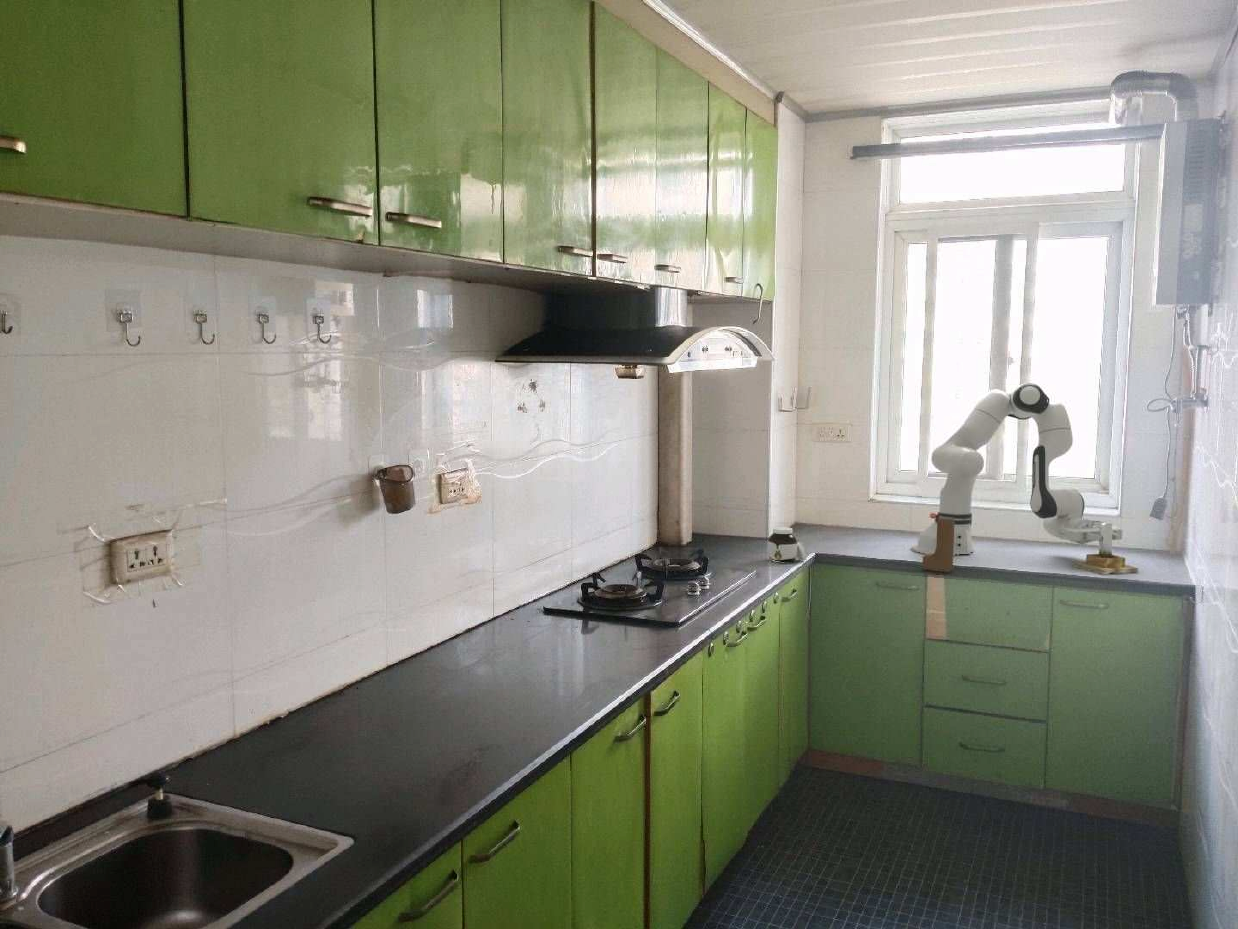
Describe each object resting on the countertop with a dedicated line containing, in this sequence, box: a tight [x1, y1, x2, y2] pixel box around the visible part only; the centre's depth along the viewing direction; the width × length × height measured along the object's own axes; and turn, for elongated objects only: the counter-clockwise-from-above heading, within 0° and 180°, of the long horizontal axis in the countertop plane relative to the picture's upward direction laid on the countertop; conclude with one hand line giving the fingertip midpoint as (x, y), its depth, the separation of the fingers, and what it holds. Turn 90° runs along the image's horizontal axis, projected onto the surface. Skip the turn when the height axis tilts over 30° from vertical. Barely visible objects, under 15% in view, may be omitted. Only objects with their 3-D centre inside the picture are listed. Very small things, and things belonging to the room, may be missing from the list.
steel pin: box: [1098, 522, 1113, 558], centre depth 336 cm, size 4×4×14 cm
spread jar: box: [767, 526, 807, 563], centre depth 349 cm, size 12×11×12 cm
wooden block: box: [921, 517, 955, 573], centre depth 334 cm, size 9×4×18 cm, turn 52°
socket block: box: [1072, 553, 1139, 575], centre depth 337 cm, size 14×14×4 cm
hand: (1108, 537), depth 335 cm, fingers open, 5 cm apart
